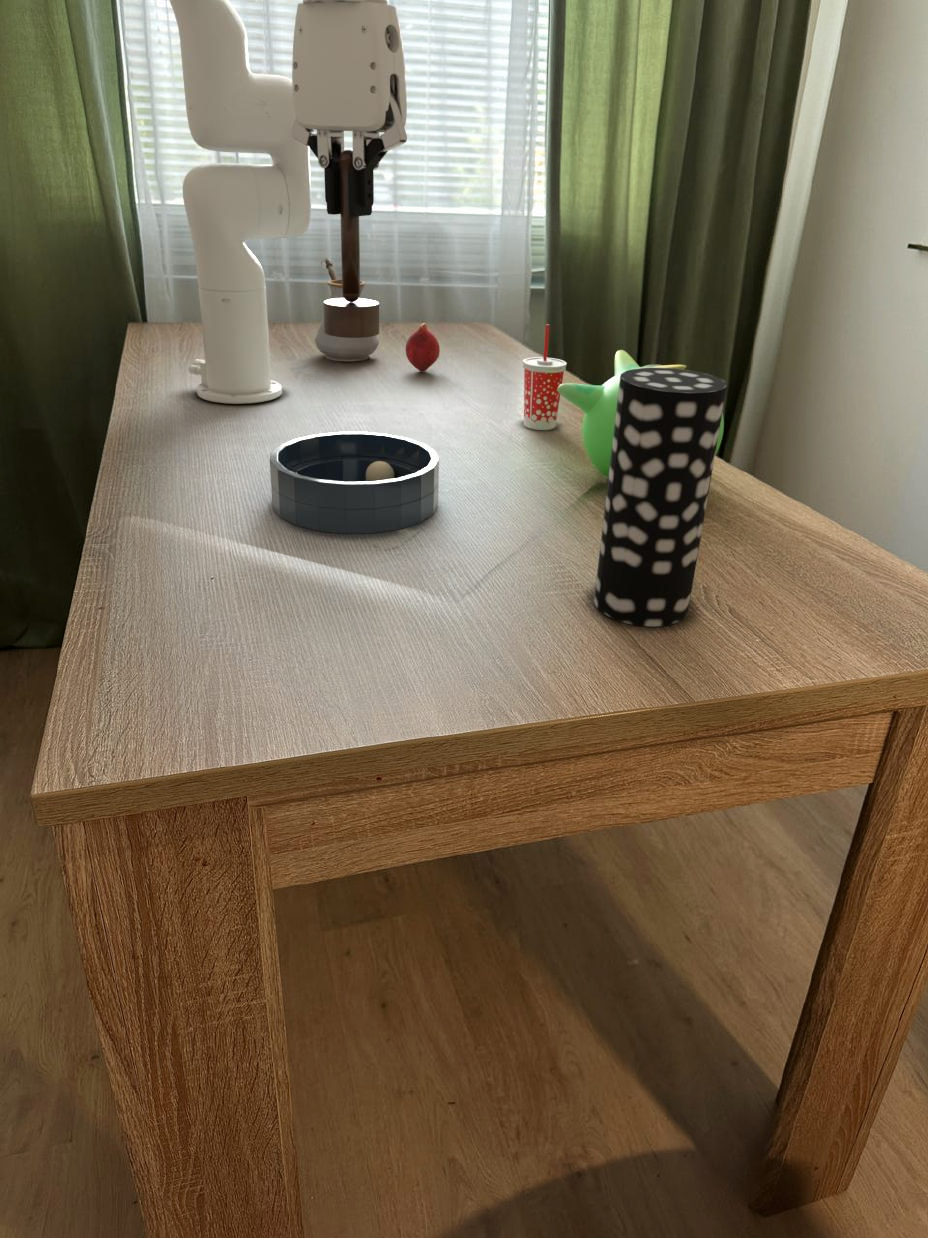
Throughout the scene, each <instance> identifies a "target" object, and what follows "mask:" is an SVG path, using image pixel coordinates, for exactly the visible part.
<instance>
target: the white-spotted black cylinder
mask: <svg viewBox="0 0 928 1238" xmlns="http://www.w3.org/2000/svg"><path fill="white" fill-rule="evenodd" d="M727 387H728V384H727V381H725V380H724V379H722V378H720V377H717V376H715V375H712V374H709V373H704V372H700V371H696V370H689V369H673V368H639V369H632V370H628V371H625V372H623V373H622V374H621V376H620V383H619V392H618V400H617V409H616V417H615V426H614V434H613V443H612V451H611V460H610V468H609V477H608V478H607V486H606V493H605V494H606V495H605V503H604V511H603V519H602V520H603V521H602V528H601V537H600V545H599V555H598V564H597V571H596V580H595V588H594V589H595V590H594V596H593V603H594V605H595V607H596V608H597V610H599V611H600V612H601V613H602V614H603V615H605V616H607V617H609V618H611V619H613V620H615V621H617V622H621V623H624V624H628V625H633V626H640V627H663V626H664V627H665V626H670V625H674V624H677V623H680V622H681V621H683V620H684V619H685V618H686V617H687V615H688V614H689V609H690V603H691V597H692V592H693V585H694V580H695V575H696V570H697V569H696V568H697V562H698V557H699V550H700V546H701V545H700V544H701V538H702V533H703V528H704V522H705V516H706V510H707V504H708V499H709V493H710V486H711V481H712V476H713V471H714V464H715V458H716V455H715V452H716V447H717V441H718V435H719V429H720V423H721V418H722V412H724V405H725V400H726V394H727V389H728V388H727Z"/></svg>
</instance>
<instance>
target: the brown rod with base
mask: <svg viewBox="0 0 928 1238" xmlns="http://www.w3.org/2000/svg"><path fill="white" fill-rule="evenodd" d="M349 170H354V167H353V149H344V151H343V152H342V153H341V154H340V157H339V171H340V214H339V215H340V254H341V255H340V256H341V257H340V258H341V280H342V295H343V297H344V298H336V299H330V298H329V299H326V300H324V301H323V316H324V332H325V333H326V334H327V335H330V336H335V337H343V338H365V337H372V336H376V335H377V336H378V335H379V334H380V303H379V301H377V300H373V299H370V298H369V299H368V298H362V299H360V298H359V297H360V281H361V258H360V257H361V255H360V251H361V250H360V247H361V246H360V245H361V244H360V216H357V217H356V216H351V215H350V214H349V204H348V172H349Z"/></svg>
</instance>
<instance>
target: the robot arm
mask: <svg viewBox="0 0 928 1238" xmlns="http://www.w3.org/2000/svg"><path fill="white" fill-rule="evenodd" d="M169 3H170V5H171V8H172V11H173V15H174V17H175V21H176V25H177V28H178V35H179V44H180V45H179V46H180V56H181V67H182V79H183V89H184V99H185V101H184V102H185V111H186V117H187V118H186V119H187V124H188V129H189V132H190V135H191V138H192V140H193V142H195V144H196V145H197V146H198V147H201V148H202V149H204V150H208V151H214V152H222V153H243V154H267V155H269V156H270V158H271V160H272V164H258V163H257V164H256V163H242V162H241V163H240V162H239V163H236V162H231V163H230V162H229V163H228V162H212V163H211V162H210V163H205V164H200V165H197V166H194V167H193V168H192V169H190V170H189V171H188V172H187V173H186V175H185V176H184V179H183V182H182V200H183V204H184V209H185V213H186V217H187V222H188V226H189V230H190V234H191V241H192V247H193V252H194V260H195V269H196V277H197V287H198V297H199V300H198V301H199V308H200V309H199V310H200V320H201V332H202V342H203V354H204V359H200V358H199V359H198V358H196V359H194V360H193V362H192V364H190V365H189V367H188V372H189V374H190V375H195V376H200V378H201V383H199V384H198V385H197V386H196V393H197V396H198V397H199V398H201V399H202V400H205V401H208V402H211V403H217V404H227V405H229V404H230V405H232V404H233V405H244V404H257V403H258V404H259V403H264V402H268V401H272V400H275V399H277V398H279V397H280V396H281V395H282V394H283V386H282V385H281V384H280V383H279V382H277V381H275V380H272V372H271V371H272V369H271V355H270V337H269V321H268V303H267V287H266V286H267V285H266V275H265V271H264V268H263V266H262V264H261V263H260V261H259V260H258V258H257V257H256V255H255V254H253V252H252V251H251V250H250V249H249V248H248V246H247V244H246V243H245V241H246V240H253V239H289V238H291V239H292V238H298V237H300V236H303V234H305V233H306V232H307V230H308V228H309V226H310V223H311V214H312V186H311V163H310V151H312V153H313V154H314V155H315V157H316V159H317V163H318V165H319V167H320V168H322V169H323V171H324V198H325V203H326V212H327V214H328V215H333V216H335V215H340V171H339V157H340V154H341V153H342V152H343V151H344V150H345V132H352V151H353V167H354V170H349V172H348V204H349V214H350V215H351V216H356V217H357V216H359V217H366V216H371V215H372V213H373V205H374V201H375V196H374V195H375V194H374V193H375V192H374V191H375V190H374V189H375V188H374V181H375V180H374V177H375V176H374V171H376V170H377V169H378V168H379V166H380V162H381V161H382V160H383V158H384V157H385V156H386V154H388V152H389V151H390V150H394V149H396V148H398V147H400V146H402V145H404V144H405V143H407V140H408V135H407V131H406V127H405V126H406V123H407V117H408V116H407V114H408V113H407V112H408V107H407V106H408V104H407V78H406V65H405V63H406V62H405V54H404V53H405V52H404V44H403V43H404V42H403V36H402V31H401V30H402V29H401V25H400V24H401V23H400V20H399V13H398V8H397V6H394V5H391V4H389V0H302V3H297V8H296V15H295V22H294V29H293V41H292V61H291V62H292V65H291V78H289V77H286V76H283V75H279V74H266V73H253V72H252V71H251V67H250V62H249V47H248V45H249V44H248V35H247V34H248V33H247V29H246V27H245V24H244V22H243V20H242V18H241V16H239V15H240V14H238V12H237V11H236V9H235V7H234V6H233V4H232V2H231V1H230V0H169ZM380 133H382V134H380Z"/></svg>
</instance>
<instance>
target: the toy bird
mask: <svg viewBox="0 0 928 1238" xmlns="http://www.w3.org/2000/svg"><path fill="white" fill-rule="evenodd" d="M613 362H614V363H613V364H614V365H613V367H614V376H612V377H610V378H609V379H608V380H607V381H605V382H604V383H603V384H601V385H595V384H585V383H574V382H567V383H562V384H561V385H560V386H559V387H558V392H559V393H560V396H561V397H563V398H564V399H565V400H567V401H568V402H569V403H571V404H573V405H574V406H575V407H577V408H579V409H580V410H582V411H583V412H584V415H583V419H582V427H581V433H582V436H581V437H582V442H583V446H584V449H585V451H586V454H587V456H588V458H589V460H590V462H591V463H592V464H593V466H594V467H595V468H596V469H597V470H598V472H600V473H601V474H602V475H603V476H604V477H605V478H607V479H608V477H609V468H610V460H611V451H612V443H613V434H614V426H615V417H616V409H617V400H618V392H619V383H620V376H621V374H622V373H623V372H625V371H628V370H632V369H639V368H673V369H683V370H686V368H687V367H688V366H687V365H685V364H666V365H665V364H664V365H662V364H647V365H643V366H640V365H639V364H638V363H637V362H636V360H635V359H634V358H633V357H632V356H631V355H630V354H629V353H628V352H627V351H626V350H624V349H619V350H617V351H616V352H615V355H614V361H613ZM723 412H724V411H723ZM723 412H722V418H721V423H720V429H719V435H718V441H717V447H716V452H715V456H716V455H717V453H718V451H719V449H720V446H721V443H722V440H723V436H724V430H725V429H724V427H725V421H724V413H723Z"/></svg>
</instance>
